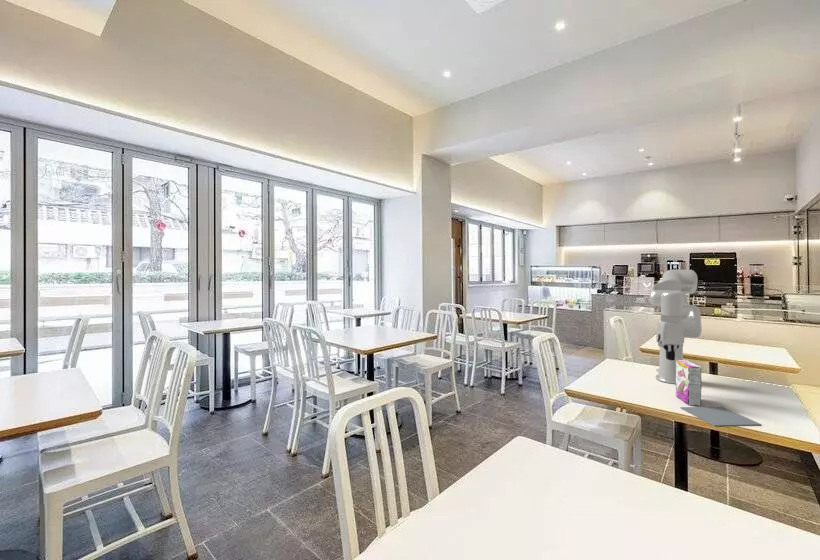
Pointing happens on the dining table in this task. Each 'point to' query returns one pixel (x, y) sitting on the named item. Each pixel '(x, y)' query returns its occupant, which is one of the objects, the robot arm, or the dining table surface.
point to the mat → (720, 416)
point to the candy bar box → (688, 382)
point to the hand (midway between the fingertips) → (670, 359)
